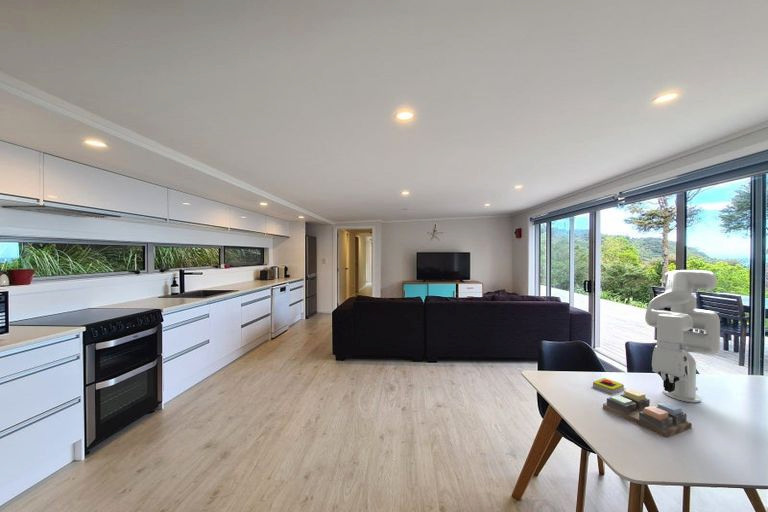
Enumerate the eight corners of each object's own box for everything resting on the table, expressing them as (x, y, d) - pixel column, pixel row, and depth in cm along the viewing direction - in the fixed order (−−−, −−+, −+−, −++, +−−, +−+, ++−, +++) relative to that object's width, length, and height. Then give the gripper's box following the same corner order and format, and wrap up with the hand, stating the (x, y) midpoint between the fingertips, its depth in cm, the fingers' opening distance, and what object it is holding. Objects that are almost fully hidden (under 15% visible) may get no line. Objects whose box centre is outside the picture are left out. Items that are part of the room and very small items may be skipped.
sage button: (618, 402, 128) (618, 395, 128) (632, 408, 124) (632, 400, 124) (610, 405, 126) (610, 397, 126) (624, 411, 122) (624, 402, 122)
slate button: (665, 409, 121) (665, 401, 121) (681, 416, 116) (681, 407, 116) (657, 412, 119) (657, 403, 119) (674, 418, 114) (674, 410, 114)
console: (627, 401, 134) (627, 390, 134) (691, 428, 114) (691, 415, 114) (602, 408, 128) (602, 396, 128) (666, 437, 108) (666, 424, 108)
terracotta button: (651, 414, 117) (651, 405, 117) (668, 420, 112) (668, 412, 112) (643, 416, 115) (643, 407, 115) (660, 423, 110) (660, 414, 110)
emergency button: (590, 380, 148) (606, 374, 155) (590, 388, 148) (606, 382, 155) (611, 387, 140) (627, 381, 147) (611, 396, 140) (626, 390, 147)
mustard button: (631, 396, 132) (631, 389, 132) (645, 402, 127) (645, 394, 127) (624, 398, 130) (624, 390, 130) (637, 404, 125) (638, 396, 125)
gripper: (700, 349, 111) (699, 397, 112) (652, 339, 125) (652, 381, 126) (689, 352, 109) (688, 401, 109) (641, 341, 123) (641, 384, 123)
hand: (669, 390), depth 117 cm, fingers closed
